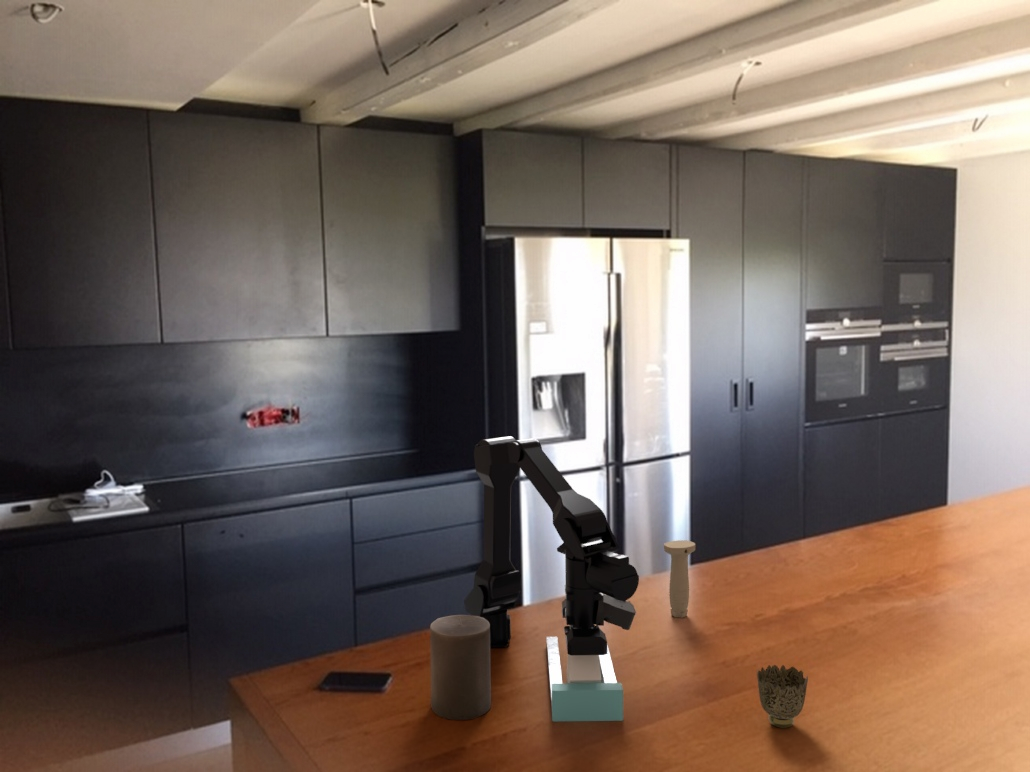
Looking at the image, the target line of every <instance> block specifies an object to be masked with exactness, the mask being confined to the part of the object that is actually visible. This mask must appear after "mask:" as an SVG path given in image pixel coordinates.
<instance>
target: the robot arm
mask: <svg viewBox="0 0 1030 772" xmlns="http://www.w3.org/2000/svg"><path fill="white" fill-rule="evenodd" d="M473 458H474V466H475V468H474V469H475V472H476V475H478V477H479V479H480V481H481V482H482V483H483V558H482V561H481V563H480V565H479V567H478V568H477V570H476V572H475V574H474V578H473V579H474V580H473V581H474V582H473V588H472V589H471V591H470V592H469V593H468V594H467V596H466V597H465V598H464V600H463V603H464V609H465V611H466V612H467V613H468V614H469V615H471V616H479V617H482V618H484V619H486V620H487V621H488V622H489V623H490V648H507V647H508V646H509V641H510V640H511V639H512V638H511V635H512V633H511V632H512V631H511V628H512V627H511V625H512V624H511V623H512V621H511V614H508V610H511V609H512V610H514V609H516V606H517V603H518V599H519V596H520V592H522V587H521V577H522V575H521V571H520V570H516V568H515V566H514V565H513V562H512V561H511V521H512V520H511V519H512V518H511V509H512V508H511V507H512V506H511V503H512V501H511V500H512V498H511V497H512V494H511V493H512V486H513V483H514V481H515V479H516V478H517V476H518V474H519V473H520V470H521V471H522V473H524V476H526V477H527V479H528V481H529V482H530V483H531V484H532V486H533V487H534V488H535V490H536V491H537V492H538V494H539V495H540V497H541V498H542V499H543V500H544V502H545V503H546V504H547V506H548V507H549V509H550V510H551V511H550V512H552V525H553V527H554V528H555V531H556V532H557V534H558V537H560V540H562V541H561V542H562V543H561V544H560V545H558V547H557V548H556V551H557V552H558V553H560V554H563V555H565V557H564V558H565V559H564V560H565V562H564V563H565V565H564V566H565V573H564V574H565V584H564V593H565V594H564V595H565V598H564V600H562V601H561V617H562V618H563V619H565V624H566V625H565V626H564V627H563V630H564V631H563V632H564V636H565V643H566V651H567V655H571V656H572V655H605V654H607V645H608V640H607V637H606V633H605V632H604V631H603V630H602V629H601V626H603V627H604V626H605V622H606V623H608V624H611V625H615V626H617V627H620V628H621V629H623V630H626V631H629V630H631V626H632V624H633V620H634V619H635V616H636V613H637V611H636V608H635V606H634V604H633V603H631V601H630V599H631V598H632V597H633V596H634V594H635V593H636V591H637V590H638V587H639V581H640V576H639V575H638V571H637V569H636V567H634V566H633V565H632V564H630V558H629V556H628V555H626V554H625V555H624V554H619V553H615V552H617V551H619V550H620V547H619V543H618V542H617V538H616V536H615V534H614V533H613V531H612V529H611V527H610V525H609V524H610V523H608V519H607V517H606V515H605V513H604V510H602V509H601V508H600V507H599V506H598V505H597V504H596V503H595V502H594V501H592V499H590V498H588V497H586V496H584V495H582V494H579V493H578V492H576V491H575V489H573V488H572V486H571V485H570V484H569V482H568V481H567V480H566V478H565V477H564V476H563V474H562V473H561V472H560V471H559V470H558V468H557V467H556V466H555V465H554V463H553V461H551V459H550V458H549V457H548V455H547V454H546V453H545V452H544V450H543V448H542V443H541V441H539V440H538V439H535V438H532V437H531V438H524V439H520V440H519V439H516V438H514V437H513V436H511V435H510V436H509V435H508V436H501V437H493V438H486V439H485V438H484V439H481V440H479V441H478V443H477V444H476V445H475V446H474V450H473ZM600 540H601V541H602V542H598V541H600ZM594 542H598V543H594ZM590 543H594V544H590ZM586 544H589V545H586Z"/></svg>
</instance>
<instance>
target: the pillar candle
mask: <svg viewBox="0 0 1030 772" xmlns="http://www.w3.org/2000/svg"><path fill="white" fill-rule="evenodd" d="M429 627H430V631H429V632H430V635H429V637H430V706H431V709H432V711H433V712H434V714H436V715H437V716H438V717H441V718H443V719H446V720H454V721H455V720H457V721H458V720H463V721H464V720H466V721H468V720H472V719H473V720H474V719H477V718H479V717H481V716H483V715H485V714H486V713H488V711H489V710H490V709H491V707H492V697H491V696H492V695H491V694H492V689H491V688H492V687H491V686H492V685H491V683H492V682H491V678H492V677H491V675H492V674H491V647H490V623H489V622H488V621H487V620H486V619H484V618H482V617H479V616H474V615H472V614H455V615H454V614H453V615H447V616H442V617H438V618H436V619H435V620H434V621H432V622H431V623H430V626H429Z"/></svg>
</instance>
